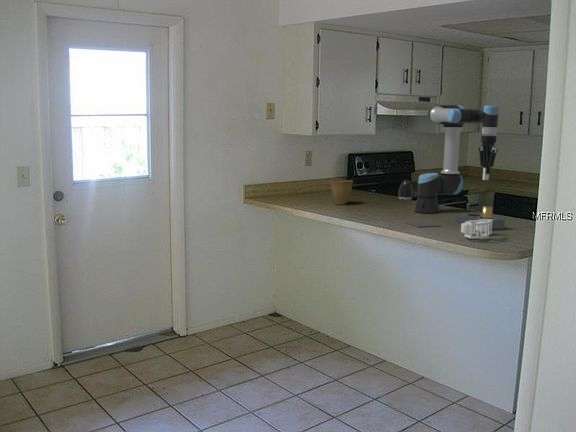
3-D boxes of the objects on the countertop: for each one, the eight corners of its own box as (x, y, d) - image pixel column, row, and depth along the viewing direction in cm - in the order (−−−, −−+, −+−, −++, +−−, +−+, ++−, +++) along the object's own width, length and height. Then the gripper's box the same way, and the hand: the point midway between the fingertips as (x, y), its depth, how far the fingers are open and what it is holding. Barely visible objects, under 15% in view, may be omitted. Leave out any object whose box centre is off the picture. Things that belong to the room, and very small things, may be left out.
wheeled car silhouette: (482, 232, 305) (483, 217, 304) (501, 235, 296) (502, 220, 295) (455, 235, 294) (456, 220, 293) (474, 239, 285) (475, 224, 284)
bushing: (479, 226, 320) (480, 206, 318) (486, 226, 321) (488, 206, 320) (485, 228, 315) (486, 207, 313) (492, 228, 317) (494, 207, 315)
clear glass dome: (405, 202, 414) (406, 180, 411) (394, 201, 422) (395, 179, 420) (415, 201, 420) (417, 180, 417) (404, 200, 428) (405, 178, 426)
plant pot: (353, 206, 391) (354, 181, 389) (330, 205, 391) (331, 181, 389) (351, 203, 406) (352, 179, 403) (329, 202, 406) (329, 179, 404)
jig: (455, 222, 332) (456, 213, 331) (475, 221, 337) (476, 212, 336) (483, 230, 310) (484, 220, 309) (504, 229, 314) (505, 219, 313)
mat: (404, 223, 327) (404, 222, 327) (426, 222, 332) (426, 221, 331) (418, 227, 314) (418, 226, 314) (441, 226, 318) (441, 225, 318)
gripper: (475, 134, 321) (472, 178, 325) (491, 135, 308) (487, 181, 313) (487, 134, 323) (483, 178, 327) (503, 135, 311) (499, 181, 315)
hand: (485, 179), depth 320 cm, fingers closed
